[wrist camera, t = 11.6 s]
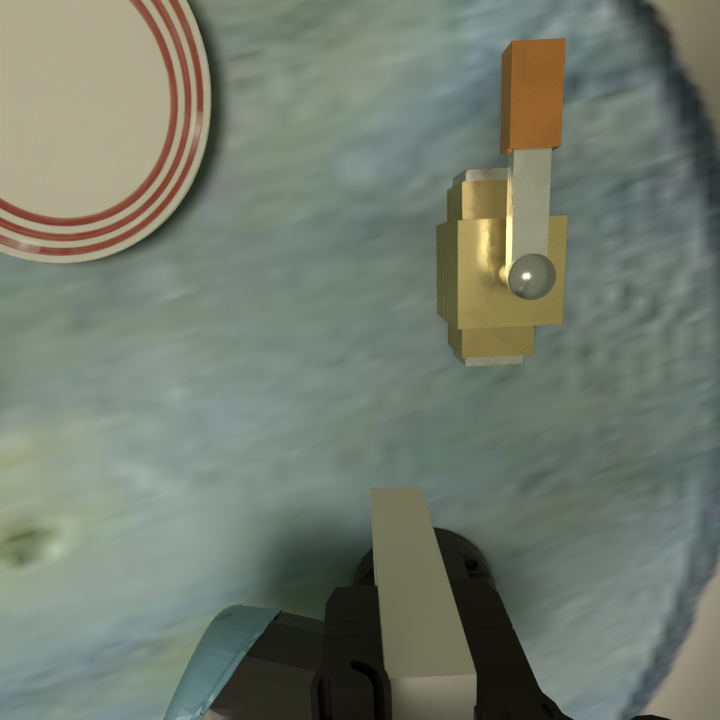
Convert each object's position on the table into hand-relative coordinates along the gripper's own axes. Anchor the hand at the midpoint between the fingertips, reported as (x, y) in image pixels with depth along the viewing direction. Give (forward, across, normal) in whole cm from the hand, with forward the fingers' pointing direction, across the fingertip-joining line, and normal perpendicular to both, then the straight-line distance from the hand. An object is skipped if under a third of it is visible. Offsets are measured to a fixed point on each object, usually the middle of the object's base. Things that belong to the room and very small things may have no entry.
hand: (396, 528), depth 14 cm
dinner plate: (+33, -25, +22) cm, 47 cm away
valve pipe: (+32, +11, +6) cm, 34 cm away
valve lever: (+23, +11, +12) cm, 28 cm away
